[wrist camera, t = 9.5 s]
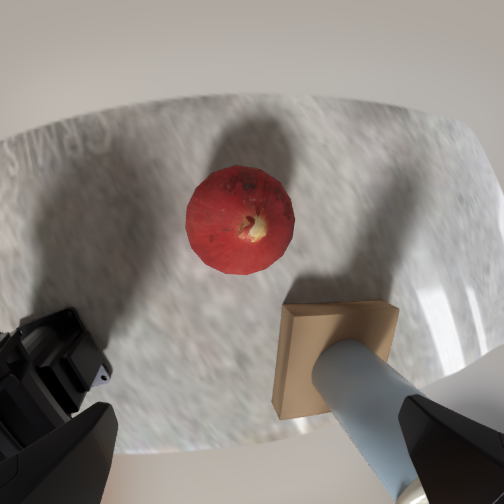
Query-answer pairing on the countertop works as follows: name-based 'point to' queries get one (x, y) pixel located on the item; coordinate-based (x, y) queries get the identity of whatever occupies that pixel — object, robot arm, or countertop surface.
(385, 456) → the tumbler
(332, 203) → the countertop surface
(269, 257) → the onion
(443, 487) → the robot arm
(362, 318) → the block
